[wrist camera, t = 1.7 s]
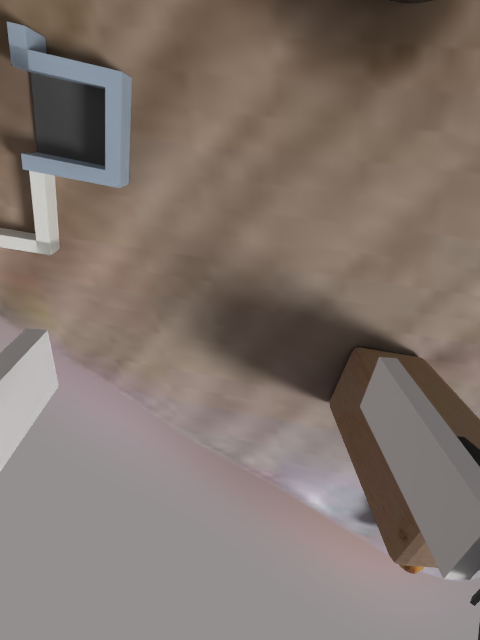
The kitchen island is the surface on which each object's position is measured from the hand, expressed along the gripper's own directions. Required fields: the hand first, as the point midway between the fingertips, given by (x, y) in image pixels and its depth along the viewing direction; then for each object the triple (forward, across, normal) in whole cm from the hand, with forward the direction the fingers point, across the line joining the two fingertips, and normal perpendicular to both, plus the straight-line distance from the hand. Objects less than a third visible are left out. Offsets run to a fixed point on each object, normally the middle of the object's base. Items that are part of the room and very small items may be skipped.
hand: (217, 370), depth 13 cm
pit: (+23, -13, +8) cm, 27 cm away
